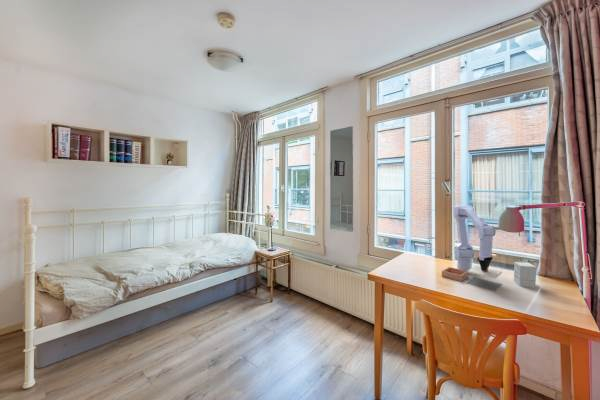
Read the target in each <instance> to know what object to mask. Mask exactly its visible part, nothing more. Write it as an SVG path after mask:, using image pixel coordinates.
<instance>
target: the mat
mask: <svg viewBox="0 0 600 400" xmlns="http://www.w3.org/2000/svg"><path fill="white" fill-rule="evenodd" d="M466 284H467V285H471V286H474V287H478V288H481V289H485V290H489V291H491V292H496V291H498V289H499V288H500V287H502V285H503V283H498V282H494V281H492V280H487V279H483V278H480V277H475V276H473V277H472V278H471V279H469V280H468V281H466Z"/></svg>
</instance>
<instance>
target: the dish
mask: <svg viewBox="0 0 600 400" xmlns="http://www.w3.org/2000/svg"><path fill="white" fill-rule="evenodd" d="M441 277H443V278H447V279H450V280H454V281H458V282H463V281H464V280H466V279H467V278H468V277H469V274H468V271H464V270H460V269H457V267H456V268H455V267H453V266H452V267H450V266H448V267H446V268H444V269H443V270H442V271H441Z"/></svg>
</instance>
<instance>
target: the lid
mask: <svg viewBox="0 0 600 400" xmlns="http://www.w3.org/2000/svg"><path fill="white" fill-rule="evenodd" d="M468 273H469V274H472V275H477V276H481V277H486V278H488V279H493V280H496V279H497V278H498V277H499V276H501V275H502V273H503V272H502V271H501V270H500V271H499V270H496V269H492V268H488V266H487V269H486V271H483V270H481V266H480V265H479V266H477V265H475V266H472V268H471V269H470V270H468Z"/></svg>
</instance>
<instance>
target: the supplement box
mask: <svg viewBox="0 0 600 400" xmlns="http://www.w3.org/2000/svg"><path fill="white" fill-rule="evenodd" d="M513 266H514V267H513V269H514V271H513V282H514V283H515V284H516V285H518V286H519V287H525V288H533V289H534V288H536V282H537V266H535V265H534V264H532V263H530V262H523V261H522V262H521V261H514V265H513Z"/></svg>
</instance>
